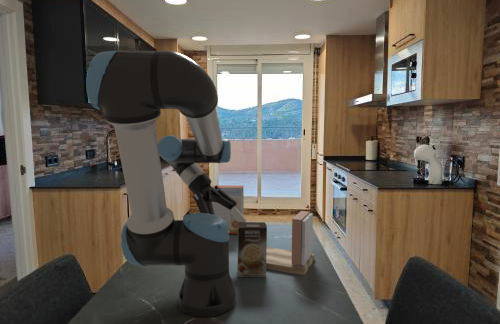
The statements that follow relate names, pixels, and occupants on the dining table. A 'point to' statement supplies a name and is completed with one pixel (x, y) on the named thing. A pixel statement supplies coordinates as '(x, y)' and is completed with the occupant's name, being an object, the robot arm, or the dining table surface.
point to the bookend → (306, 240)
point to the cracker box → (223, 212)
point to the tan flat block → (297, 236)
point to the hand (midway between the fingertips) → (235, 228)
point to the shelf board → (284, 261)
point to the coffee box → (252, 249)
